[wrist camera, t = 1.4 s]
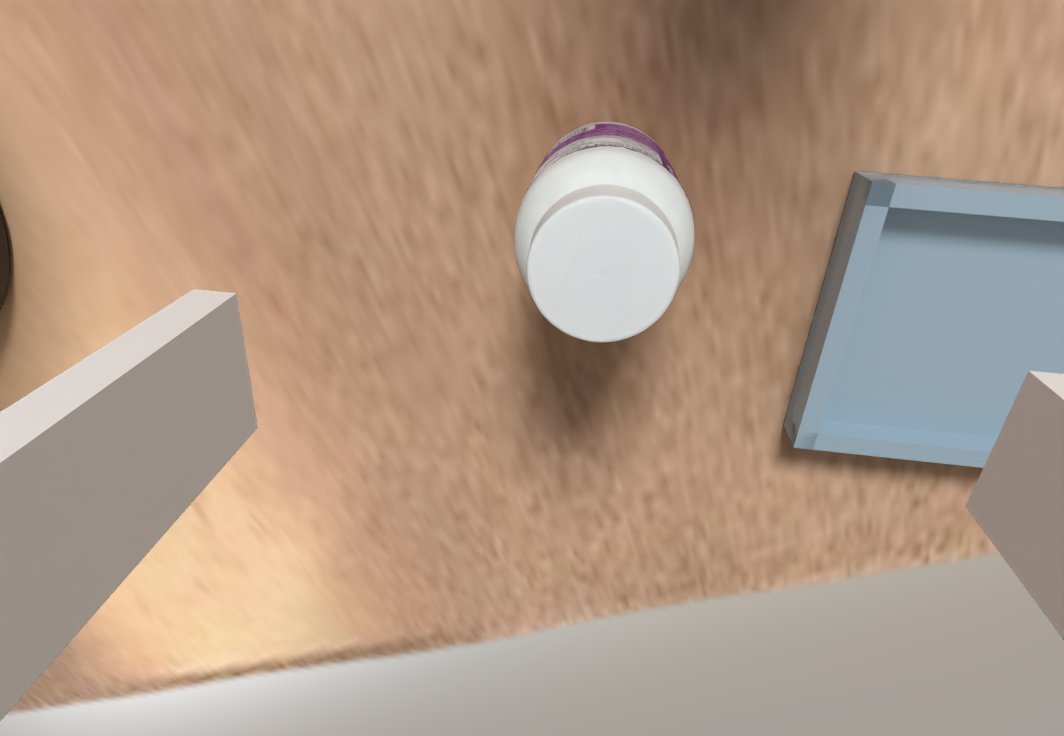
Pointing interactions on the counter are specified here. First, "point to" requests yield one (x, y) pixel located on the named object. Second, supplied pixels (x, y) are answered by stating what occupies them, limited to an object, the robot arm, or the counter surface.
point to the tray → (931, 318)
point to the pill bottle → (604, 233)
